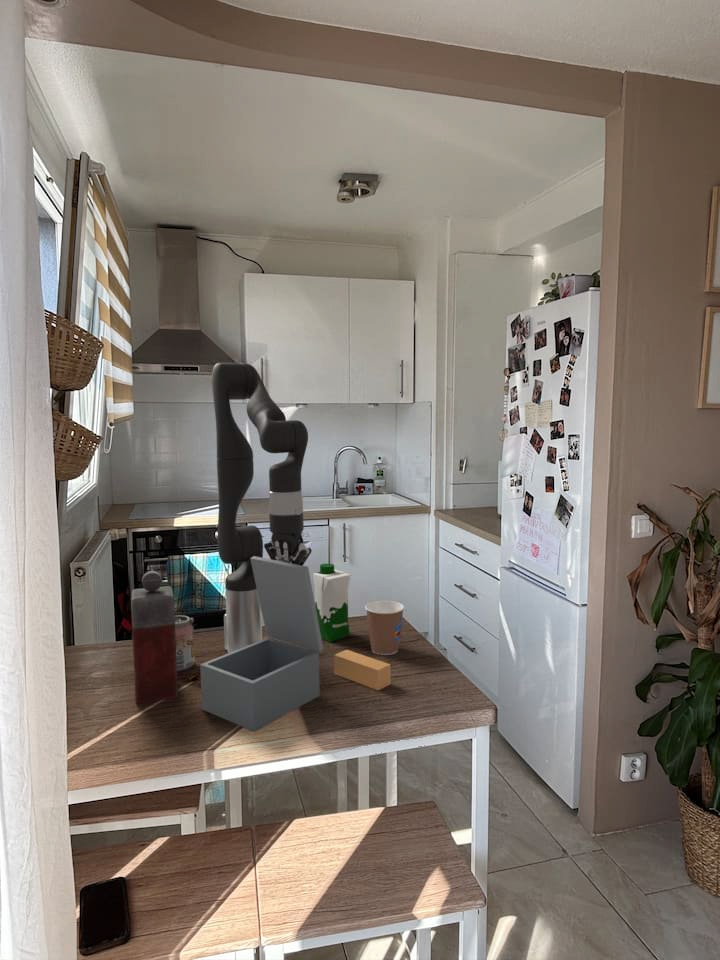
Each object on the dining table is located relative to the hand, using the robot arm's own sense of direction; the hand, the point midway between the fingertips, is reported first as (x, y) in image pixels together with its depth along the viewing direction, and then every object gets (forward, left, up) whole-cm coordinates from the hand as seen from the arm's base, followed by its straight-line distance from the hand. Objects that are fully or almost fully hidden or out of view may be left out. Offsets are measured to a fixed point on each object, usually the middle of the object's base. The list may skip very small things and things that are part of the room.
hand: (288, 586), depth 147 cm
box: (0, -9, -24) cm, 26 cm away
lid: (0, -1, -4) cm, 4 cm away
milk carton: (-14, +32, -24) cm, 43 cm away
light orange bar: (+10, +14, -24) cm, 30 cm away
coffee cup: (+4, +32, -24) cm, 40 cm away
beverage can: (-32, -7, -24) cm, 41 cm away
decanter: (-24, -19, -24) cm, 39 cm away
